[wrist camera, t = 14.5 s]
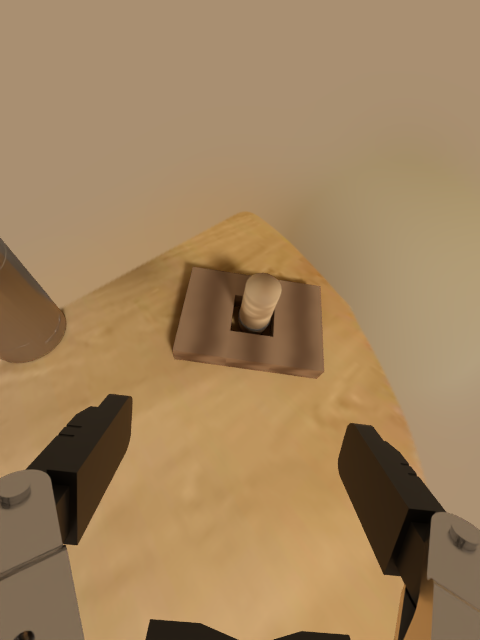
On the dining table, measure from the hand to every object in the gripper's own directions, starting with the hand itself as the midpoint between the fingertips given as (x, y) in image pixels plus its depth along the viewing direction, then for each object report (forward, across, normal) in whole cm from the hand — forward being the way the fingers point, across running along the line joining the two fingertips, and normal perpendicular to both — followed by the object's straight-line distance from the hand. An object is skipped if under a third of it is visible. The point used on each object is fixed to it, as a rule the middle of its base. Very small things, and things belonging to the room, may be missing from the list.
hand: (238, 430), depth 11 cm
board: (+33, -3, +5) cm, 33 cm away
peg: (+32, -3, +5) cm, 33 cm away
